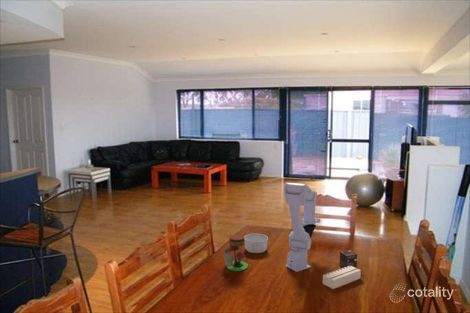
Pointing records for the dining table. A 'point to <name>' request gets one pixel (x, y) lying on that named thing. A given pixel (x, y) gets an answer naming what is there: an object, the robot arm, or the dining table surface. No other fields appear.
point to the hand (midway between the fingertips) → (308, 237)
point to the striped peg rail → (341, 277)
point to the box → (348, 259)
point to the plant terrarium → (234, 245)
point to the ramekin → (256, 243)
